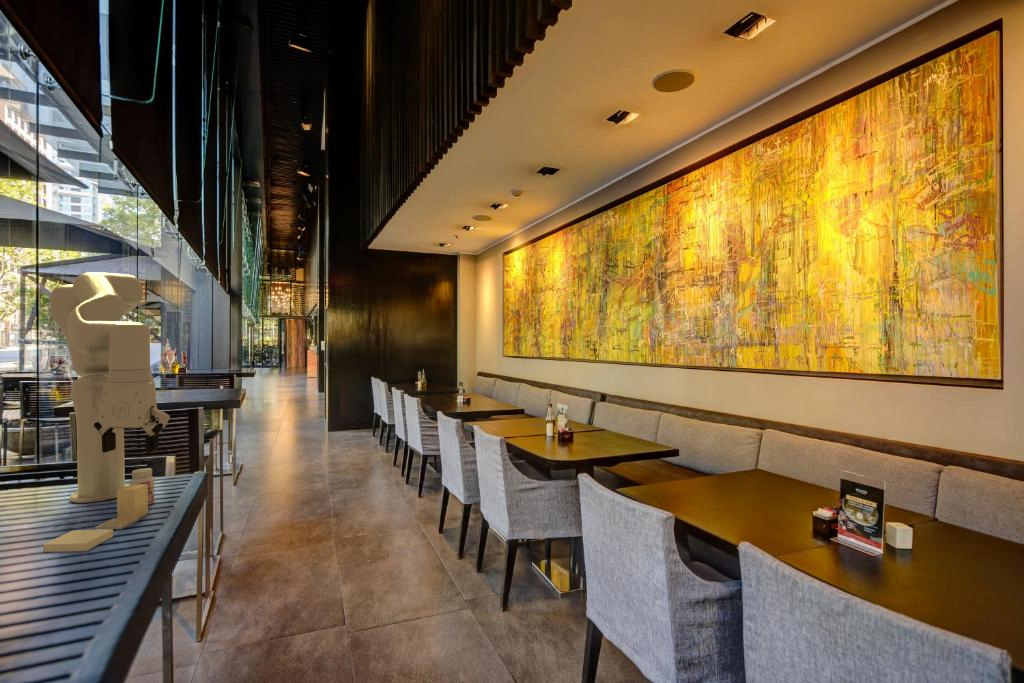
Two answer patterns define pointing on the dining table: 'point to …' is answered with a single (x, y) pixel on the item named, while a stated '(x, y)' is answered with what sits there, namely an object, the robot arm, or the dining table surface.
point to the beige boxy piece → (128, 506)
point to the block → (78, 540)
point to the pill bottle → (144, 481)
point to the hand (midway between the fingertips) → (130, 451)
